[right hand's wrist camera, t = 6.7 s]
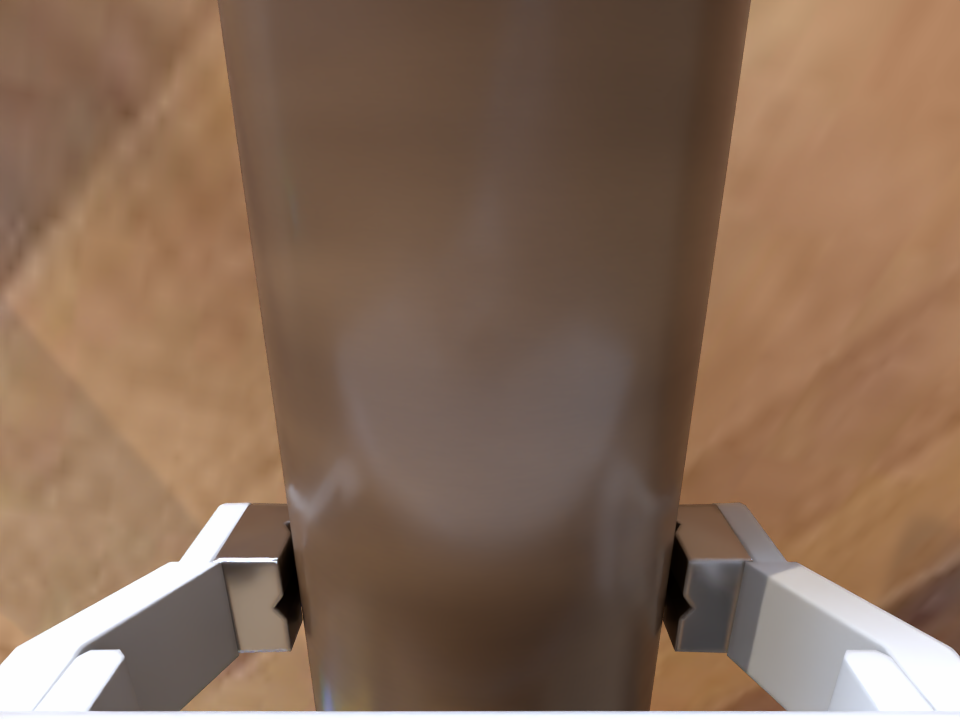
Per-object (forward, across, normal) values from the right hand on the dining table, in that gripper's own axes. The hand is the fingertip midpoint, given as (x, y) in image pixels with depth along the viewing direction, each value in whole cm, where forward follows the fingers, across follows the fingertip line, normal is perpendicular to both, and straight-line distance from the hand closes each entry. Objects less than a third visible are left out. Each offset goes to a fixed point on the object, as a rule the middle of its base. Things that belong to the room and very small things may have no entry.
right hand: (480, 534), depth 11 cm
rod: (+3, 0, -9) cm, 10 cm away
